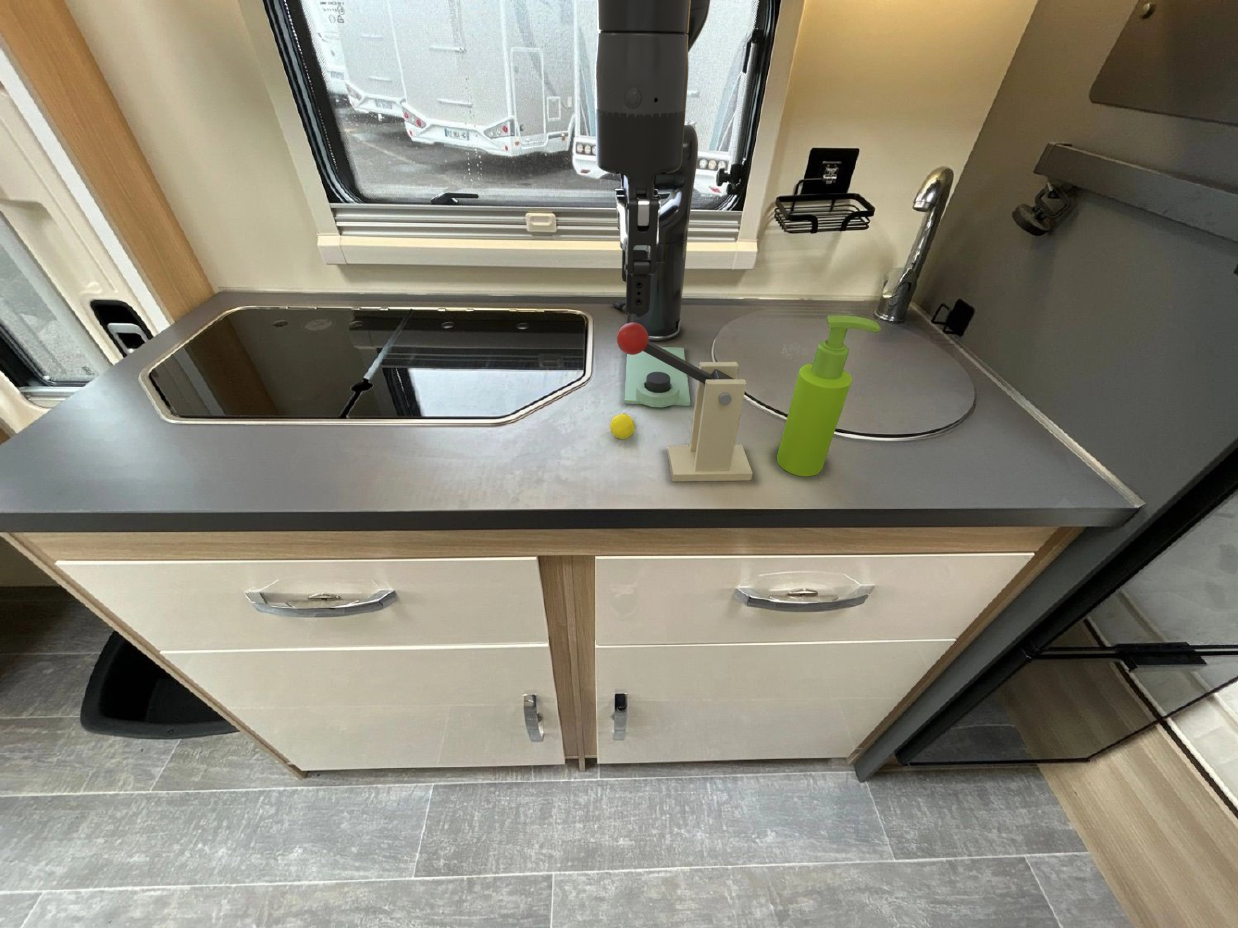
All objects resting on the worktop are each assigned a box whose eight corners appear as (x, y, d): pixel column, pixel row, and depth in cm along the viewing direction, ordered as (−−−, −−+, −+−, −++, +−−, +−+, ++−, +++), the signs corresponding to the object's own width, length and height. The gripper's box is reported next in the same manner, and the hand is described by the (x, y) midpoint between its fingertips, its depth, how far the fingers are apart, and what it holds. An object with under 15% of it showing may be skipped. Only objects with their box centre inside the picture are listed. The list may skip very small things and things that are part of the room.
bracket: (672, 481, 66) (682, 386, 57) (667, 452, 70) (675, 360, 62) (751, 480, 66) (772, 385, 57) (740, 451, 71) (759, 359, 62)
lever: (611, 351, 56) (628, 325, 54) (610, 337, 58) (626, 311, 56) (723, 410, 61) (742, 387, 59) (718, 394, 63) (735, 373, 62)
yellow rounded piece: (613, 445, 71) (605, 421, 70) (616, 431, 77) (610, 408, 76) (637, 439, 71) (630, 415, 70) (639, 425, 76) (632, 402, 75)
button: (645, 381, 81) (646, 371, 80) (669, 381, 81) (670, 371, 80) (645, 393, 78) (646, 383, 77) (670, 394, 78) (671, 383, 77)
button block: (627, 349, 94) (627, 336, 92) (683, 351, 93) (684, 338, 92) (623, 410, 78) (624, 395, 77) (690, 412, 78) (692, 398, 77)
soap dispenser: (833, 480, 66) (886, 333, 54) (777, 472, 67) (816, 326, 55) (828, 452, 71) (876, 311, 58) (776, 446, 72) (812, 305, 59)
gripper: (699, 114, 38) (680, 325, 48) (675, 97, 49) (663, 272, 59) (595, 113, 38) (598, 325, 48) (594, 96, 49) (597, 272, 59)
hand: (634, 295), depth 54 cm, fingers open, 8 cm apart
